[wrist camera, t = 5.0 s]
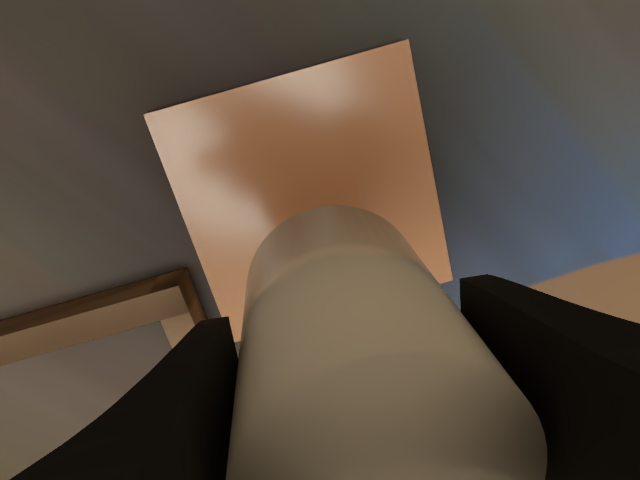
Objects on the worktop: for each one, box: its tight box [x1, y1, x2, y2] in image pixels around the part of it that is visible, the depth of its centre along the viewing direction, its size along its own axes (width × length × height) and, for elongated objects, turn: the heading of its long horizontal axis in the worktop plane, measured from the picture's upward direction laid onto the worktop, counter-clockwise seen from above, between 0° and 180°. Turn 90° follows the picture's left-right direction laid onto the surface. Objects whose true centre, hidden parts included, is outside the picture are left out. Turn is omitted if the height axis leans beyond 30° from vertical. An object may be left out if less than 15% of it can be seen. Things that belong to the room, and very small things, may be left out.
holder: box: [0, 268, 207, 366], centre depth 21 cm, size 11×9×2 cm
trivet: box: [144, 39, 453, 342], centre depth 19 cm, size 10×10×1 cm
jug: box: [226, 205, 547, 480], centre depth 11 cm, size 8×5×7 cm, turn 0°
